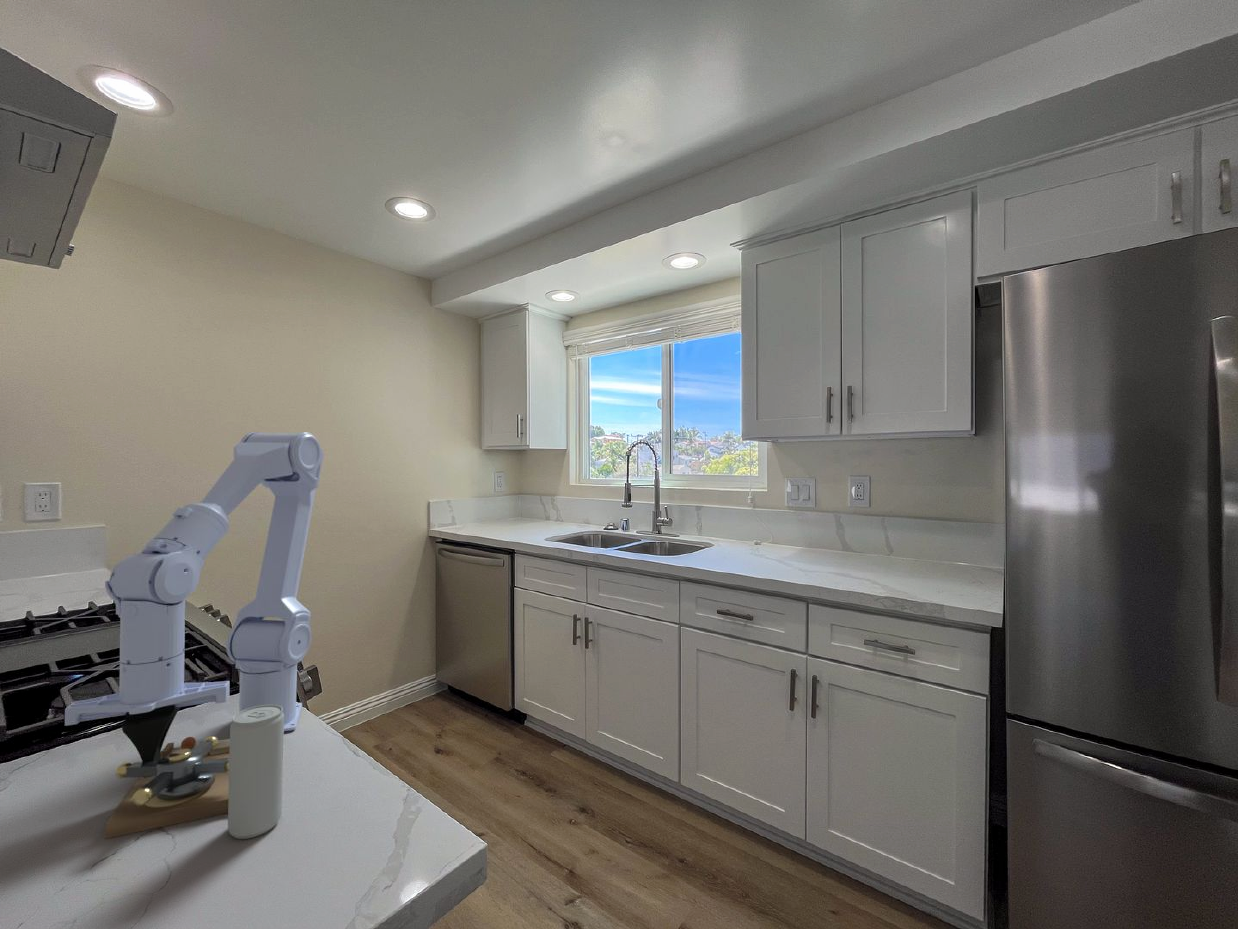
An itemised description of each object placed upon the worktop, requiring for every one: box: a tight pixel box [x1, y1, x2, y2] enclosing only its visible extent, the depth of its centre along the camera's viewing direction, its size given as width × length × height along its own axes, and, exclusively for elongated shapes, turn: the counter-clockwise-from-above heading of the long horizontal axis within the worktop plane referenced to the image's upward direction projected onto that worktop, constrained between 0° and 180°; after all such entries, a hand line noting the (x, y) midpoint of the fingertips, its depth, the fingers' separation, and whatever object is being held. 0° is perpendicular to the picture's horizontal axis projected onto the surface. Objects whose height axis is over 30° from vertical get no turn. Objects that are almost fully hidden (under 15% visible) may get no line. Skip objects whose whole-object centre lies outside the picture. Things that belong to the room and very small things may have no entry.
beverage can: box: [227, 705, 285, 840], centre depth 58 cm, size 5×5×12 cm
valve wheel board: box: [104, 736, 230, 839], centre depth 65 cm, size 16×12×4 cm
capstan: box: [114, 735, 229, 806], centre depth 61 cm, size 13×13×4 cm
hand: (151, 772), depth 63 cm, fingers closed, pressing on capstan
